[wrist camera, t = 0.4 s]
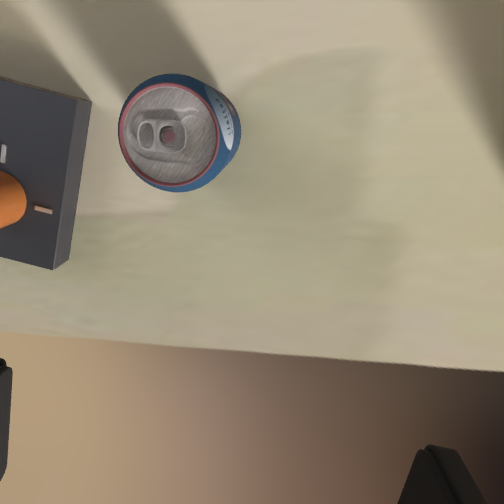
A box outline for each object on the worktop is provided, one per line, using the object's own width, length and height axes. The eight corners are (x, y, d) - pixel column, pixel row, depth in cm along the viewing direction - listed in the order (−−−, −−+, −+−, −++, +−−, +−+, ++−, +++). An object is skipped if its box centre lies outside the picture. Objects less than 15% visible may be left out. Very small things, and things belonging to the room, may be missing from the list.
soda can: (243, 88, 36) (232, 73, 24) (240, 175, 38) (227, 200, 26) (157, 83, 36) (104, 66, 24) (158, 171, 38) (109, 193, 26)
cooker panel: (-30, 68, 36) (-57, 63, 33) (92, 101, 36) (76, 99, 33) (-42, 231, 40) (-67, 240, 37) (68, 259, 40) (52, 271, 37)
